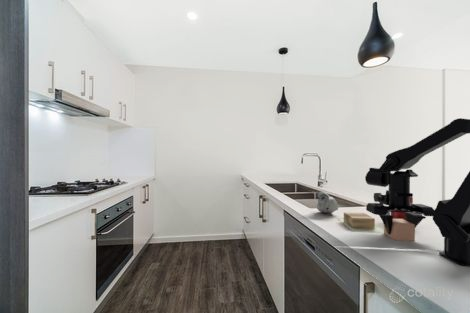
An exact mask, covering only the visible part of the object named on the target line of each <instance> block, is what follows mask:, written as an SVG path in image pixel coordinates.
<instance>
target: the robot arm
mask: <svg viewBox="0 0 470 313" xmlns="http://www.w3.org/2000/svg"><path fill="white" fill-rule="evenodd" d="M467 134H470V119H469V118H456V119H453V120H452V121H451V122H450V123H448V124H447V125H444V126H443V127H441V128H440V129H438V130H436V131H435V132H433V133H431V134H430V135H428V136H426V137H424V138H422V139H421V140H418V141H417V142H416V143H414V144H412V145H410V146H408V147H405V148H401V149H398V150H396V151H393V152H391V153H388V154H387V155H386V156H385V160H384V162H383V163H382V164H381V166H380V167H378V168H377V167H369V170H368V171H367V172H366V174H365V182H366V184H367V185H368V186H369V185H370V186H376V187H381V188H382V187H383V188H387V187H388V190H386V191H385V194H382V193H381V192H374V193H373V201H374V202H368V203H367V204H366V206H365V207H366V208H365V210H366V211H367V212H369V213H371V214H373V215H376V216H379V218H380V219H381V221H382V223H383V227H384V226H385V228H386V231H387V233H388V234H391V230H392V221H393V216H391V215H390V214H391V212H404V213H405V215H406V218H407V221H408V222H410V223H413V224H415V229H416V228H417V227H418V225H419V224H421V222H422V221H423V220H424V219H426V218H427V217H432V220H433V223H434V224H435V226H437V227H438V229H439V232H440V234H441V236H442V237H443V238H444V239H443V248H444V249H443V251H444V252H443V251H439V252H438V254H439V255H440V256H442V257H444V258H446V259H448V260H450V261H451V262H453V263H455V264H457V265H459V266H466V267H468V266H470V170H469V172H468V173H467V174H466V177H464V179H463V181H462V182H461V184H460V185H459V187H458V189H457V190H456V192H455V193H454V195H453V197H452V198H449V199H442V200H438V202H437V204H436V208H433V207H432V206H429V205H427V204H426V205H425V204H422V203H413V204H411V205H410V197H413V196H414V195H413V194H414V193H411V178H417V177H419V174H417V173H416V172H415V171H413V169H411V168H412V167H413V166H415V165H416V164H418V163H419V161H420V160H421V159H423V157H425V156H426V155H428V154H430V153H432V152H434V151H436V150H437V149H439V148H441V147H443V146H446V145H447V144H449V143H451V142H453V141H455V140H457V139H459V138H461V137H463V136H465V135H467ZM402 170H405V171H402ZM403 209H404V210H403Z"/></svg>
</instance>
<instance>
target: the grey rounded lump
mask: <svg viewBox="0 0 470 313" xmlns="http://www.w3.org/2000/svg"><path fill="white" fill-rule="evenodd" d="M317 198H318V199H317V202H318V203H317V204H316V209H317V211H318V212H320V213H323V214H329V215H330V214H333V213H334V212H336V211H338V210H339V206H338V201H337V200H336V199H335V198H334V197H333V196H330V195H329V194H328V193H327V192H325V191H324V190H323V191H319V193H318V194H317Z"/></svg>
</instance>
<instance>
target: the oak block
mask: <svg viewBox="0 0 470 313" xmlns="http://www.w3.org/2000/svg"><path fill="white" fill-rule="evenodd" d="M343 218H344V222H345V223H346V224H347V225H349V226H350V227H351V228H355V229H375V225H376V224H375V223H376V222H375V221H376V219H375V217H372V216H370V215H368V214H367V213H365V212H351V211H350V212H349V211H347V212H345V211H344V212H343Z"/></svg>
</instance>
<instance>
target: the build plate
mask: <svg viewBox="0 0 470 313" xmlns="http://www.w3.org/2000/svg"><path fill="white" fill-rule="evenodd" d="M336 219H337V220H338V221H340V223H342V224H344V225H345V226H346V227H347V228H348V229H350V230H352V232H361V233H363V232H365V233H384V228H382V227H379V226H378V225H376V224H375V229H355V228H351V227H350V226H349V225H347V224H346V223H345V222H344V217H342V218H341V217H337V218H336Z"/></svg>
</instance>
